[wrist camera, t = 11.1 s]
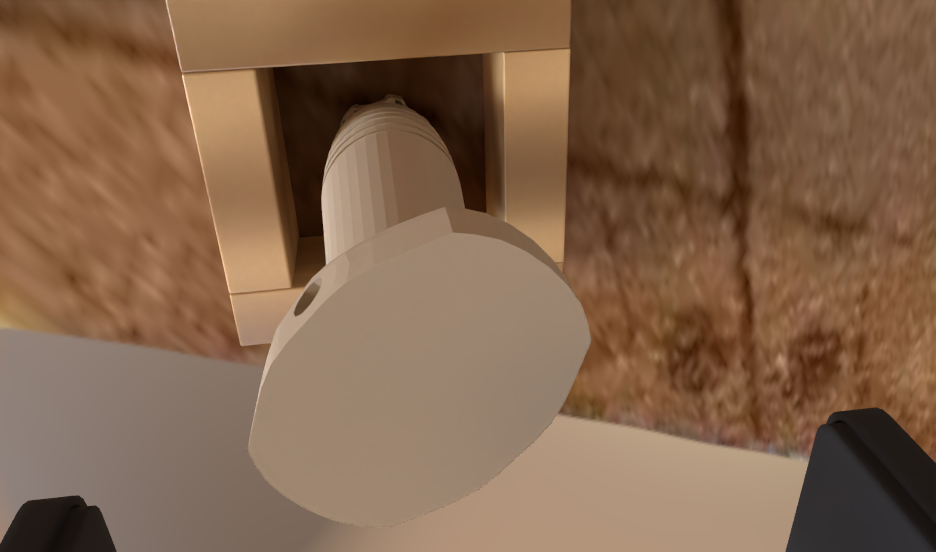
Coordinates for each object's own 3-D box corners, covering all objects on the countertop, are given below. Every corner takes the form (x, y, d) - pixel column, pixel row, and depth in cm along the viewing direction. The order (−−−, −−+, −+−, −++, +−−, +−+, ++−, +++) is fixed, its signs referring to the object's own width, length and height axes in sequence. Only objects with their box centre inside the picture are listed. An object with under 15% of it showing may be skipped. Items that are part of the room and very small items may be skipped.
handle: (494, 112, 26) (642, 343, 13) (378, 240, 28) (404, 559, 15) (389, 18, 24) (438, 176, 11) (271, 161, 26) (189, 449, 13)
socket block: (192, -21, 23) (163, -4, 19) (540, -39, 24) (573, -26, 20) (254, 289, 28) (240, 347, 24) (537, 261, 29) (562, 312, 26)
